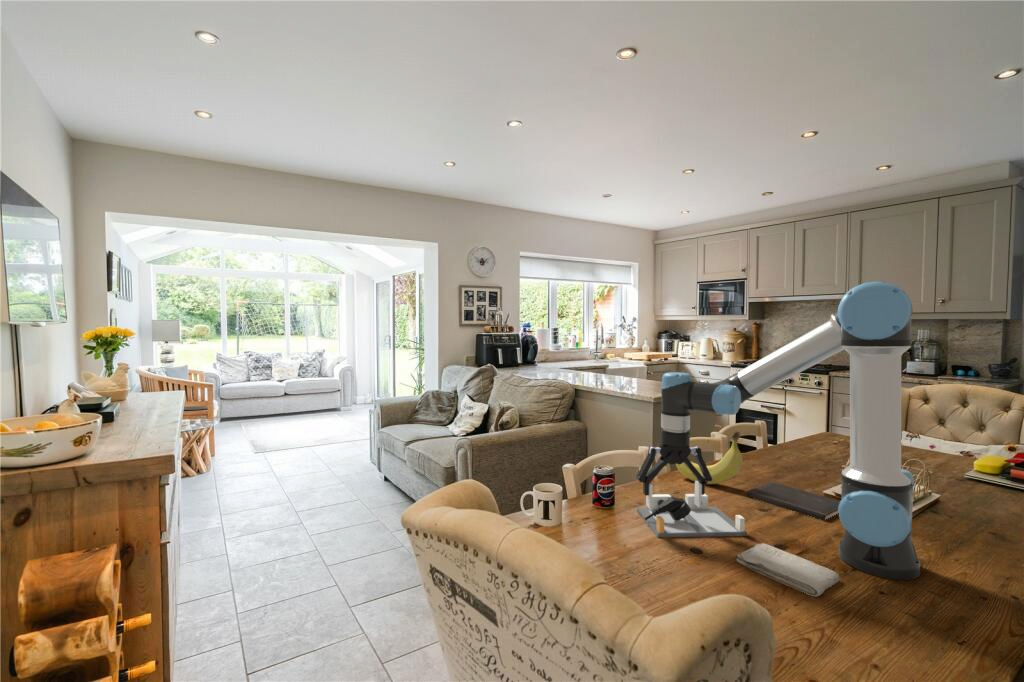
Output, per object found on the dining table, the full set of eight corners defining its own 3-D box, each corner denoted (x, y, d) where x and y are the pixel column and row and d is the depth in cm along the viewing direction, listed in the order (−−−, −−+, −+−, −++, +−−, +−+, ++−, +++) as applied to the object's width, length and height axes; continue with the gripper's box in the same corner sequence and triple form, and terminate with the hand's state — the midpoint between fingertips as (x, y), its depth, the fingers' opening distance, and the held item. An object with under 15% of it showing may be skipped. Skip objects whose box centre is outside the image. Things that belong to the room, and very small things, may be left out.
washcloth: (758, 550, 118) (759, 538, 118) (841, 583, 104) (842, 569, 103) (733, 564, 111) (733, 551, 111) (818, 601, 97) (818, 586, 96)
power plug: (641, 512, 134) (677, 489, 133) (657, 534, 134) (693, 512, 133) (645, 521, 129) (682, 497, 127) (661, 544, 128) (699, 520, 127)
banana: (671, 478, 171) (673, 423, 170) (678, 474, 175) (679, 420, 174) (738, 493, 155) (739, 433, 155) (743, 489, 160) (745, 430, 159)
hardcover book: (772, 488, 163) (772, 481, 162) (849, 511, 143) (849, 503, 143) (746, 497, 154) (746, 490, 153) (824, 523, 135) (825, 515, 134)
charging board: (747, 535, 125) (747, 517, 125) (657, 537, 124) (657, 518, 123) (716, 510, 142) (716, 493, 142) (637, 511, 141) (637, 494, 140)
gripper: (713, 426, 133) (711, 500, 134) (625, 426, 132) (624, 501, 133) (726, 432, 126) (724, 511, 127) (634, 432, 124) (632, 512, 125)
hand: (673, 506), depth 130 cm, fingers open, 13 cm apart
